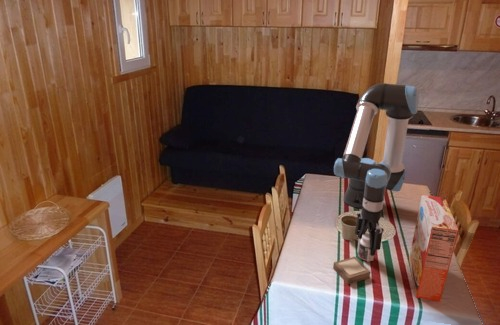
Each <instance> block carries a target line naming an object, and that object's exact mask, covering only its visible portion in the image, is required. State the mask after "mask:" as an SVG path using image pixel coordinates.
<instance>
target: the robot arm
mask: <svg viewBox="0 0 500 325" xmlns="http://www.w3.org/2000/svg"><path fill="white" fill-rule="evenodd" d="M419 98H420V97H419V89H418V88H417V87H416V86H412V85H408V84H406V85H403V84H393V83H386V82H382V83H381V82H380V83H376V84H374V85H372V86H370V87H368V88H367V89H366V90H365V91H364V92H363V93H362V94H361V96H359V98H358V101H357V103H356V106H355V108H356V114H355V116H354V120H353V123H352V126H351V128H350V129H351V130H350V133H349V137H348V140H347V142H346V146H345V149H344V152H343V156H342V157H341V158H340V157H338V158H337V159H335V161H334V165H333V174H334V175H335V176H337V177H341V178H343V179H349V180H348V186H347V188H346V191H345V193H344V194H343V202H344V203H345V204H347V205H348V206H349V207H353V208H356V209H361V212H360V213H356V217H357V224H356V230H355V234H356V235H357V250H356V252H357V253H358V251H359V245H360V240H361V239H362V235H363V234H365V233H368V234H369V236H370V247H369V248H368V255H367V260H366V261H367V262H368V263H369V262H371V261H374V258H375V255H376V251H379V250H381V248H382V246H381V245H382V238H383V233H384V228H383V227H380V223H379V222H380V220H381V218H382V212H383V207H384V201H385V194H386V190H387V191H390V192H397V193H398V192H400V191H401V190H402V189H403V185H404V181H405V179H406V175H407V173H408V170H407V169H406V168H405V164H404V163H403V156H404V152H405V145H406V139H407V131H408V125H409V120H410V119H412V118H413V117H414V115H415V114H417V113H418V108H419ZM379 110H380V111H381V110H382V111H385V116H386V117H387V129H386V135H385V143H384V148H383V149H384V151H383V158H382V160H381V161H380V162H377V163H376V160H374V159H372V158H369V157H363V156H364V152H365V149H366V144H367V142H368V138H369V134H370V132H371V128H372V124H373V121H374V117H375V115H377V114H378V112H379Z"/></svg>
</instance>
